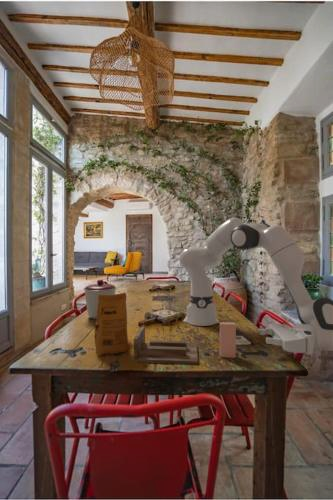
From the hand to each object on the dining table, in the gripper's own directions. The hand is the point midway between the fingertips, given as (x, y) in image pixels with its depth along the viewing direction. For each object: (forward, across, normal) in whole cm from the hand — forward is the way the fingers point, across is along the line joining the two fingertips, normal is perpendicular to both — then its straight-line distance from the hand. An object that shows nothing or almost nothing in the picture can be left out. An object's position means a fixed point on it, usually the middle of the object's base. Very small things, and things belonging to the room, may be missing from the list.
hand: (262, 335), depth 100 cm
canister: (+76, -50, +7) cm, 91 cm away
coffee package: (+56, -2, +8) cm, 57 cm away
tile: (+12, 0, +8) cm, 15 cm away
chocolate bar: (+6, -21, +8) cm, 24 cm away
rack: (+34, 0, +8) cm, 35 cm away
